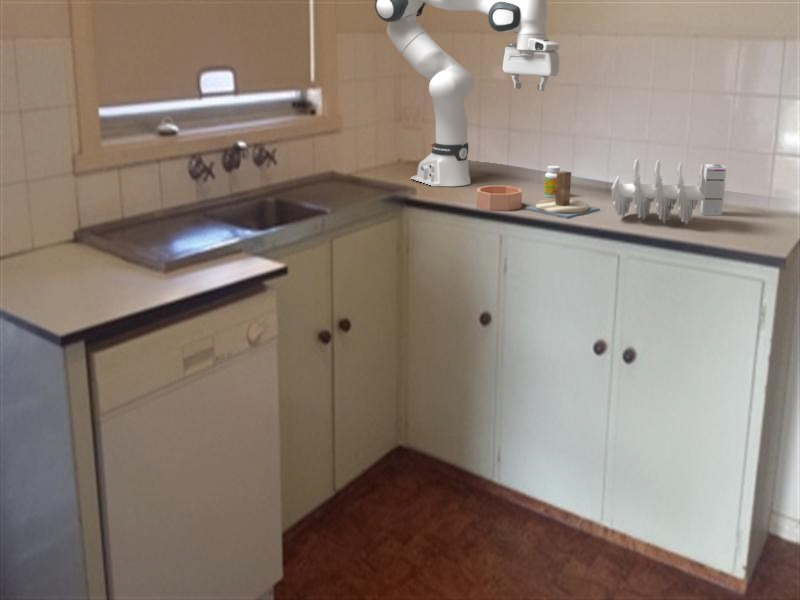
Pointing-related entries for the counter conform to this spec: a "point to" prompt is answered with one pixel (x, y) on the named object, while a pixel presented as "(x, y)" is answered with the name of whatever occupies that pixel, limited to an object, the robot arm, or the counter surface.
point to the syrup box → (713, 189)
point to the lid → (562, 198)
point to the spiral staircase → (658, 195)
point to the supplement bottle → (551, 181)
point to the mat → (591, 209)
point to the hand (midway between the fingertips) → (529, 89)
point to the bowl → (499, 198)
